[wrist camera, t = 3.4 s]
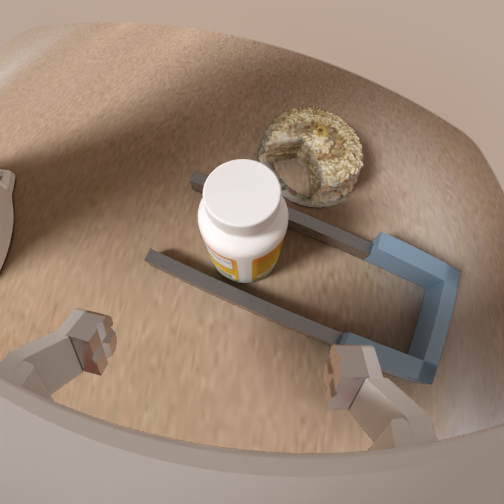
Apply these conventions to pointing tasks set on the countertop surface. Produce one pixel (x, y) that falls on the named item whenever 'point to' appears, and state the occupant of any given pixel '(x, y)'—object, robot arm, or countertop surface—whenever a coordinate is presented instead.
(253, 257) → the supplement bottle
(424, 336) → the socket block
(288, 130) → the cake
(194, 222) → the countertop surface
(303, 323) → the guide rails
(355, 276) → the countertop surface
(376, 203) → the countertop surface
